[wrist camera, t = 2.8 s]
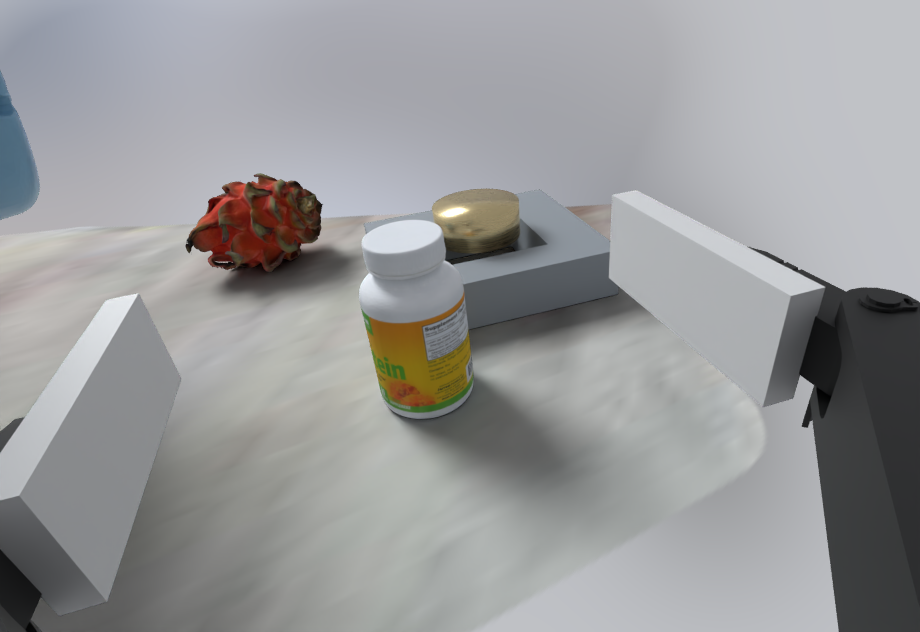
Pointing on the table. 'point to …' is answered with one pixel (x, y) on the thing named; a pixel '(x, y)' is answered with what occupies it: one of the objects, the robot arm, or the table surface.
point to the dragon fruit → (257, 224)
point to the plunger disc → (478, 220)
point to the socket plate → (533, 264)
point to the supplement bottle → (416, 319)
